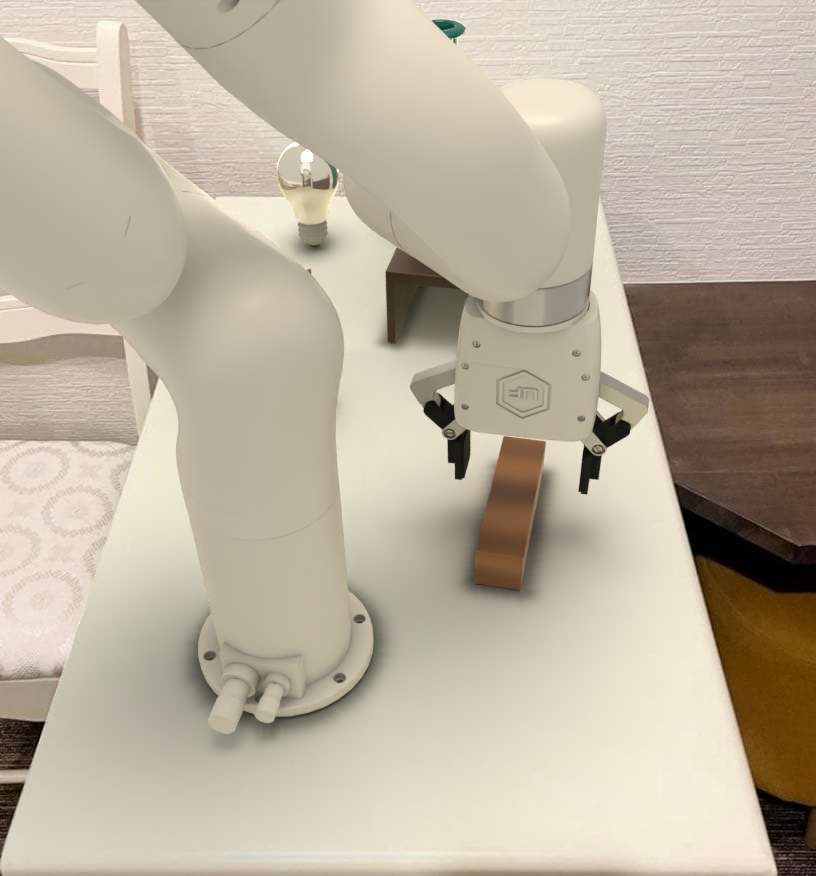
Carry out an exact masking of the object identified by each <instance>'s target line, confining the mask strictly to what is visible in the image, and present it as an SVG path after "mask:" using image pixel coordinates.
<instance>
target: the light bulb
mask: <svg viewBox="0 0 816 876" xmlns="http://www.w3.org/2000/svg"><path fill="white" fill-rule="evenodd" d="M340 179H341V171H339V170H338V169H337V168H335V167H334V166H332V165H331V164H329V163H328V162H326V161H325V160H323V159H322V158H320V157H319V156H317V155H315V154H314V153H312V152H311V151H309V150H307V149H306V148H304V147H303V146H301V145H299V144H298V143H296V142H295V141H293V142H292V143H290V144H289V145H288V146H287V147H286V148H285V149H284V150H283V151H282V153H281V155H280V157H279V158H278V161H277V164H276V181H277V185H278V188H279V189H280V192H281V193H282V194H283V196H284V197H285V199H286V200H287V201H288V203H289V204H290V206H291V207H292V210H293V214H294V217H295V219H296V221H297V226H298V236H299V237H298V238H300V239H301V240H302V241H303V242H304V243H305V244H307V245H309V247H311V248H316V247H319V246H320V244H322V243H323V242H325V240H326V238H327V237H328V234H329V231H328V221H327V218H328V217H329V212H330V205H331V202H332V200H333V199H334V197H335V195H336V192H337V191H338V188H339V185H340Z"/></svg>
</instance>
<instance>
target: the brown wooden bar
mask: <svg viewBox="0 0 816 876" xmlns="http://www.w3.org/2000/svg"><path fill="white" fill-rule="evenodd" d="M546 447H547V440H541V439H533V438H524V437H515V436H506V435H503V437H502V440H501V444H500V449H499V453H498V458H497V461H496V466H495V469H494V474H493V478H492V482H491V487H490V489H489V494H488V498H487V501H486V507H485V510H484V514H483V519H482V522H481V523H482V524H481V528H480V531H479V535H478V539H477V544H476V547H475V556H474V557H475V558H474V575H473V576H474V577H473V583H474V584H475V585H480V586H481V585H482V586H489V587H495V588H503V589H509V590H516V591H521V589H522V583H523V578H524V573H525V568H526V563H527V558H528V552H529V548H530V547H529V546H530V541H531V536H532V532H533V526H534V521H535V515H536V510H537V505H538V500H539V495H540V490H541V484H542V478H543V473H544V465H545V455H546Z"/></svg>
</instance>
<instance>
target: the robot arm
mask: <svg viewBox="0 0 816 876" xmlns="http://www.w3.org/2000/svg"><path fill="white" fill-rule="evenodd" d="M134 1H135V3H137V4H138V5H139V6H140V7H141V8H142V9H143V10H144V11H145V12H146V13H147V14H148V15H149V16H150V17H151V18H152V19H153V20H154V21H155V22H156V23H157V24H159V26H161V27H162V29H164V30H165V31H166V32H167V33H168V34H169V35H170V36H171V37H172V38H173V39H174V41H175V42H176V43H177V44H178V45H179V46H180V47H181V48H182V49H183V50H184V51H185V52H186V53H187V54H188V55H189V56H191V58H192V59H193V60H194V61H195V62H197V64H199V66H200V67H202V69H204V71H206V73H207V74H208V75H209V76H210V77H211V78H213V80H214V81H216V82H217V83H218V84H219V85H220V87H222V88H223V89H224V90H225V91H226V92H228V93H229V94H230V95H232V96H233V97H234V98H235V99H236V100H237V101H239V103H242V104H243V105H244V106H245V107H247V109H249V110H250V111H251V112H252V113H254V115H256V116H257V117H259V118H260V119H261V120H263V121H264V122H265V123H267V124H268V125H269V126H271V127H272V128H274V129H275V130H276V131H278V132H279V133H280V134H281V135H284V136H285V137H287V138H288V139H290V140H291V141H293V142H296V143H298V144H299V145H301V146H303V147H304V148H306V149H307V150H309V151H311V152H312V153H314V154H315V155H317V156H319V157H320V158H322V159H323V160H325V161H326V162H328V163H329V164H331V165H332V166H334V167H335V168H337V169H338V170H339V172H340V173H342V184H343V190H344V193H345V198H346V200H347V203H348V204H349V206H350V208H351V210H352V211H353V213H354V214H355V216H357V218H358V219H359V220H360V221H361V222H362V223H363V224H364V225H365V226H367V228H369V229H370V230H371V231H373V232H374V233H375V234H376V235H378V236H380V237H381V238H382V239H384V240H385V241H387V242H389V243H390V244H392V245H393V246H395V247H396V248H397V247H398V248H399V249H401V250H402V251H404V252H405V253H407V254H409V255H410V256H412V257H414V258H416V259H418V260H419V261H420V262H422V263H423V264H425V265H426V266H428V267H429V268H431V269H432V270H434V271H435V272H437V273H438V274H440V275H441V276H443V277H444V278H446V279H447V280H448V281H450V282H451V283H453V284H454V285H456V286H457V287H458V288H460V289H461V290H460V291H463V292H464V293H466V294H468V295H467V298H466V299H465V301H464V305H463V308H462V313H461V317H460V324H459V330H458V336H457V337H458V338H457V346H456V347H457V348H456V359H454V360H450V361H447V362H444V363H442V364H438V365H436V366H432V367H430V368H427V369H424V370H421V371H418V372H416V373H414V374H413V375H412V379H411V381H410V384H409V389H410V391H411V393H412V394H413V396H414V397H415V399H416V401H417V402H418V404H420V405H421V407H422V408H423V409H422V411H423V414H424V415H425V416H426V417H427V418H428V419H429V420H430V421H432V422H433V423H434V424H435V425H436V426H437V427H438V428H439V429H441V435H442V437H443V438H445V439H446V440H447V442H446V443H447V445H446V446H447V447H446V448H447V463H448V464H452V465H453V464H454V480H457V481H462V480H464V479H465V478H466V474H467V471H468V466H469V463H470V459H471V439H472V438H471V437H472V435H471V432H475V433H481V434H490V435H498V436H508V437H516V438H524V439H533V440H542V441H554V442H567V443H568V442H572V443H573V442H579V441H580V442H581V443H582V444H583V449H582V454H581V455H582V456H581V464H580V474H579V482H578V491H577V492H578V493H580V495H586V496H587V495H588V494H589V486H590V480H596V481H599V480H600V473H601V465H602V457H603V456H604V455H605V454H606V453H607V451H608V450H607V449H608V448H610V447H612V446H613V445H615V444H617V443H618V442H620V441H622V440H624V439H625V438H628V436H630V434H631V430H632V429H634V428H635V427H636V426H637V425H638V424H639V423H640V421H642V419H643V418H644V417H645V416H646V415H647V414H648V412H649V403H650V398H649V397H648V395H646V394H644V393H642V392H640V391H639V390H637V389H635V388H633V387H632V386H629V385H628V384H626V383H624V382H622V381H620V380H619V379H617V378H616V377H615V378H614V377H613V376H611V375H610V374H608V373H605V372H604V371H602V324H601V315H600V314H601V313H600V306H599V300H598V298H597V296H596V294H595V293H594V292H593V291H591V287H592V277H593V266H594V254H595V246H596V237H597V236H596V234H597V226H598V215H599V205H600V204H599V203H600V195H601V184H602V177H603V176H602V175H603V168H604V167H603V166H604V165H603V164H604V156H605V146H606V138H607V113H606V109H605V106H604V103H603V102H602V100H601V98H600V97H599V95H598V94H596V92H594V91H593V90H592V89H591V88H588V87H587V86H586V85H583V84H581V83H579V82H575V81H572V80H567V79H561V78H551V77H536V78H528V79H527V78H526V79H521V80H516V81H513V82H509V83H507V84H504V85H502V86H500V87H498V86H497V85H496V84H495V82H493V80H491V79H490V77H488V75H487V74H486V73H485V72H484V71H483V70H482V69H481V68H480V67H479V66H478V65H477V64H476V63H475V62H474V61H473V60H472V59H471V58H470V57H469V56H468V55H467V54H466V53H465V52H464V51H463V50H462V48H460V47H459V46H457V45H456V44H455V43H454V42H453V41H452V40H450V39H449V38H448V37H447V36H446V35H445V34H444V33H443V32H442V31H441V30H440V29H439V28H438V27H437V26H436V25H435V24H434V23H433V22H432V21H431V18H430V17H429V16H427V14H426V13H425V12H424V11H423V10H422V9H421V8H420V7H419V5H417V3H415V1H414V0H134ZM307 270H308V269H306V268H305V267H304V266H303V265H302V264H301V263H299V261H297V260H296V259H295V258H293V257H292V255H290V254H289V253H287V252H286V251H285V250H284V249H283V248H282V247H280V246H278V245H277V244H276V243H274V242H273V241H272V240H270V239H269V238H268V237H267V236H265V235H264V234H263V233H261V232H260V231H258V230H257V229H255V228H254V227H252V226H251V225H249V224H247V223H246V222H245V221H243V220H242V219H240V217H238V216H237V215H236V214H234V213H233V212H232V211H230V210H228V209H227V208H226V207H225V206H223V205H222V204H220V203H219V202H218V201H217V200H215V199H214V198H213V197H211V196H210V195H209V194H208V193H206V192H205V191H204V190H202V189H201V188H200V187H199V186H197V185H196V184H195V183H193V182H192V181H191V180H190V179H188V178H186V176H185V175H183V174H182V173H181V172H179V171H178V170H177V169H176V168H174V167H173V166H172V165H171V164H169V163H168V162H167V161H166V160H165V159H163V158H162V157H160V156H159V154H157V153H156V152H155V151H153V150H152V149H151V148H150V147H148V145H146V144H145V143H144V142H143V140H141V138H140V137H139V136H138V135H137V133H135V132H134V131H133V130H132V129H131V128H130V127H129V126H128V125H127V124H126V123H124V122H123V121H122V120H121V119H120V118H118V116H117V115H115V114H114V113H113V112H112V111H110V110H109V109H108V108H107V107H105V106H104V105H103V104H101V103H100V101H97V100H96V99H95V98H94V97H92V96H91V95H90V94H88V93H86V91H84V90H83V89H82V88H80V87H79V86H77V85H76V84H75V83H73V82H72V81H71V80H69V79H68V78H66V77H65V76H64V75H62V74H61V73H59V72H58V71H56V70H54V69H52V68H51V67H49V66H47V65H45V64H43V63H41V62H39V61H36V60H33V59H31V58H29V57H28V56H27V55H26V54H24V53H23V52H21V51H20V50H19V48H17V47H15V46H14V45H13V44H12V43H10V42H9V41H8V40H6V39H5V38H4V37H3V36H2V35H1V34H0V288H1V289H2V290H3V291H5V292H6V293H8V294H9V295H10V296H12V297H14V298H15V299H16V300H17V301H20V302H21V303H23V304H25V305H27V306H29V307H31V308H33V309H35V310H37V311H40V312H41V313H44V314H46V315H48V316H51V317H55V318H58V319H62V320H64V321H65V320H66V321H69V322H72V323H80V324H87V325H97V326H98V325H99V326H100V325H109V326H111V328H113V330H115V331H116V332H117V333H118V334H119V335H120V336H121V337H122V338H123V339H124V340H125V341H126V343H128V344H129V345H130V347H132V349H133V350H134V351H135V352H136V353H137V355H138V356H139V357H140V359H141V360H142V361H143V362H144V363H145V364H146V365H147V366H148V367H149V368H150V370H152V372H153V373H154V374H155V375H156V376H157V378H158V379H159V380H161V382H162V383H163V386H164V387H165V388H166V391H168V394H169V396H170V397H171V400H172V402H173V406H174V408H175V411H176V415H177V420H178V421H177V422H178V423H177V424H178V427H177V428H178V430H177V436H176V443H175V458H176V468H177V473H178V474H177V475H178V479H179V485H180V489H181V492H182V496H183V497H182V498H183V501H184V505H185V508H186V511H187V516H188V519H189V524H190V528H191V532H192V536H193V541H194V545H195V549H196V554H197V558H198V562H199V566H200V571H201V575H202V580H203V582H204V588H205V592H206V596H207V601H208V605H209V609H210V613H209V615H208V616H207V617H206V619H205V621H204V623H203V625H202V628H200V633H199V637H198V642H197V658H198V661H199V665H200V669H201V672H202V675H203V677H204V680H205V682H206V683H207V684H208V686H209V687H210V688H211V691H212V692H213V693H214V694H215V695H217V697H216V700H215V702H214V704H213V706H212V709H211V710H210V713H209V715H208V718H207V719H206V721H207V724H208V726H209V727H210V728H211V729H212V730H214V731H216V732H217V733H220V734H224V735H229V734H231V735H232V734H233V733H235V732H236V729H237V727H238V724H239V722H240V720H241V718H242V715H243V713H244V712H246V713H249V714H252V715H254V717H255V719H256V720H257V721H259V722H261V723H264V724H271V723H274V721H275V719H276V718H278V717H279V718H281V717H294V716H300V715H305V714H309V713H311V712H314V711H318V710H321V709H323V708H325V707H327V706H329V705H331V704H333V703H335V702H337V701H338V700H340V699H342V697H343V696H345V695H346V694H347V693H349V692H350V691H351V690H352V689H354V688H355V686H356V685H357V684H358V683H359V682H360V680H361V679H362V678H363V676H364V674H365V673H366V671H367V669H368V668H369V666H370V663H371V660H372V656H373V654H374V643H375V642H374V641H375V639H374V628H373V623H372V620H371V616H370V613H369V612H368V610H367V608H366V607H365V605H364V603H363V602H362V601H361V600H360V599H359V598H358V597H357V596H356V595H355V594H354V593H353V592H351V591H350V590H349V586H348V583H349V582H348V573H347V572H348V571H347V561H346V549H345V536H344V524H343V511H342V501H341V499H342V498H341V489H340V480H339V479H340V478H339V467H338V453H337V428H336V427H337V425H336V424H337V409H338V407H337V406H338V399H339V393H340V387H341V386H340V385H341V380H342V374H343V369H344V368H343V367H344V361H345V337H344V331H343V326H342V322H341V319H340V317H339V314H338V311H337V309H336V307H335V305H334V303H333V302H332V299H331V298H330V297H329V295H328V293H327V292H326V290H325V289H324V287H322V285H321V284H320V283H319V282H318V281H317V279H316V277H314V276H313V275H312V273H311V274H310V273H309V272H308V271H307ZM452 385H454V397H453V404H452V403H451V402H450V401H449V400H448V399H447V398H445V397H444V396H443V395H442V394H441V393H440V392H438V390H440V389H443V388H446V387H450V386H452ZM599 399H601V400H603V401H605V402H608V403H609V404H611V405H612V406H615V407H616V408H618V409H621V410H620V411H617V412H616V413H615V414H612V415H611V416H610V417H608V418H606V419H605V418H604V416H603V415H602V414H601V413H600V412H599V411H598V404H599Z"/></svg>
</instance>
